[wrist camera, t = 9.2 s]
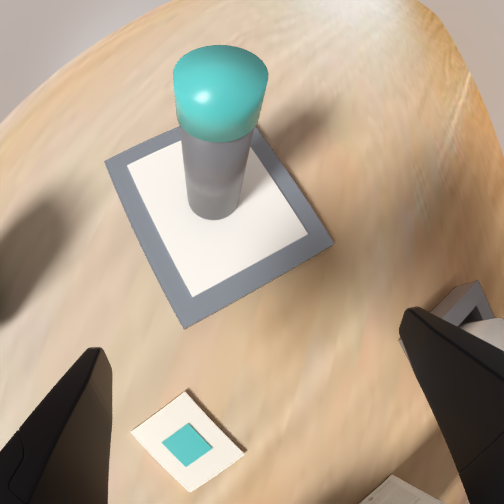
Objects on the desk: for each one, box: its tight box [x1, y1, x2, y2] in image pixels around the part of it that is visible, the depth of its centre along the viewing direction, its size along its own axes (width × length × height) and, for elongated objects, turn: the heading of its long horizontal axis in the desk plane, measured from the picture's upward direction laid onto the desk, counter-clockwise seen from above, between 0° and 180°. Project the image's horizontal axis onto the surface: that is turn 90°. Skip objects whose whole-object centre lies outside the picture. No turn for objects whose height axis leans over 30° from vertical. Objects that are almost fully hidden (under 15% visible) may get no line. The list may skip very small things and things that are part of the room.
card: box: [131, 391, 245, 492], centre depth 18 cm, size 6×5×1 cm
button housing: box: [399, 280, 495, 364], centre depth 21 cm, size 8×8×3 cm
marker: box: [173, 45, 268, 220], centre depth 17 cm, size 4×4×12 cm
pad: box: [104, 126, 334, 329], centre depth 23 cm, size 14×12×1 cm
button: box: [458, 318, 504, 351], centre depth 18 cm, size 4×4×4 cm
